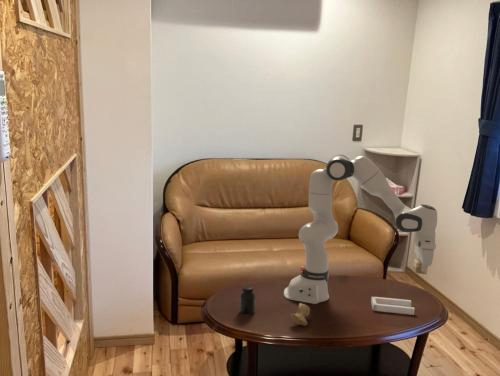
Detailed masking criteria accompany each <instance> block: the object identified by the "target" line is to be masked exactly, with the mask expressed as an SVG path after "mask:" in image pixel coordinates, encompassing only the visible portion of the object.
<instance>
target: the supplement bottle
mask: <svg viewBox="0 0 500 376" xmlns="http://www.w3.org/2000/svg"><path fill="white" fill-rule="evenodd" d="M241 291H242V292H240V295H239V312H240V313H241V314H242V315H244V316H250V315H253V314H254V313H255V311H256V294H255V292H254V287H253V286H252V285H249V284H248V285H243V286H242V290H241Z"/></svg>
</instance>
